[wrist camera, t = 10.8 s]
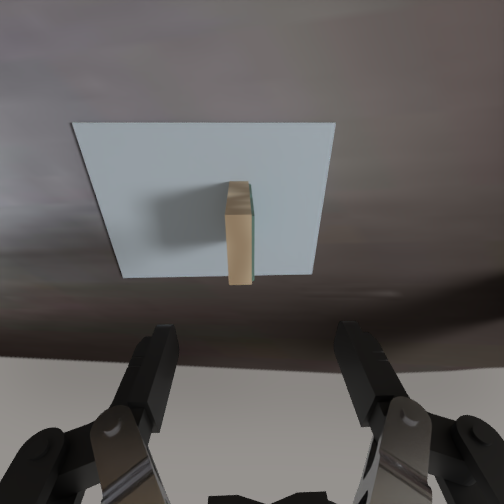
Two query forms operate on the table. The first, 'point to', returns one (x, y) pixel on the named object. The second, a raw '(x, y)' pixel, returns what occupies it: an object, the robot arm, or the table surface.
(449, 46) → the table surface
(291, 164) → the mat
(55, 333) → the table surface
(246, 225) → the tile
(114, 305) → the table surface
